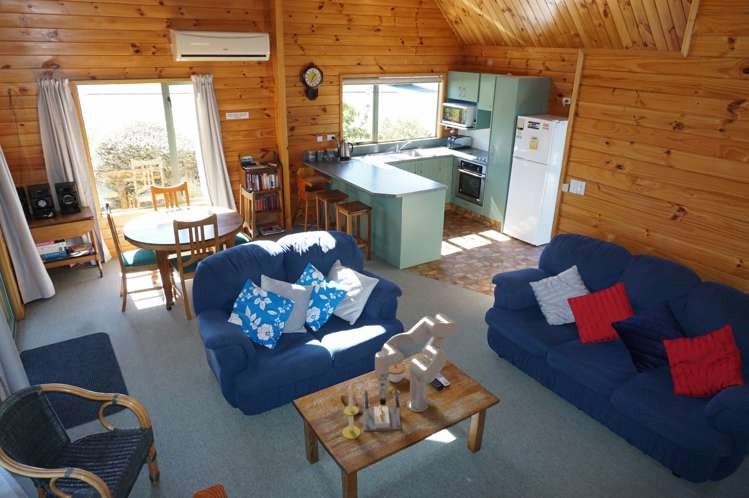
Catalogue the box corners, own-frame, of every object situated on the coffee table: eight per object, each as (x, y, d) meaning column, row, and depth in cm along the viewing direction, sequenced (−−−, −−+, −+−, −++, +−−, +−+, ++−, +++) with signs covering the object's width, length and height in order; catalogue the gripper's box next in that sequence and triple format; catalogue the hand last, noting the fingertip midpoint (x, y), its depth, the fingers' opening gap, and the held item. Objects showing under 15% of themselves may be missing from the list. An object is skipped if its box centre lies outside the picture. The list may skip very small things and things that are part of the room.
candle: (346, 441, 274) (344, 391, 262) (339, 429, 282) (338, 380, 270) (363, 435, 278) (362, 386, 266) (356, 424, 286) (355, 375, 274)
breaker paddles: (382, 409, 291) (380, 404, 290) (383, 419, 283) (381, 414, 282) (380, 409, 291) (378, 405, 290) (380, 419, 283) (379, 415, 282)
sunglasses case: (365, 413, 294) (360, 407, 291) (356, 421, 293) (350, 415, 290) (353, 395, 309) (348, 389, 306) (344, 403, 308) (338, 397, 305)
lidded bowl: (384, 373, 330) (384, 359, 326) (403, 372, 331) (403, 358, 327) (386, 385, 318) (386, 371, 314) (406, 384, 320) (406, 369, 315)
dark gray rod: (397, 391, 291) (397, 389, 290) (399, 408, 277) (399, 405, 277) (394, 391, 291) (394, 389, 290) (396, 408, 277) (396, 406, 277)
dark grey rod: (367, 392, 290) (367, 390, 290) (368, 409, 277) (368, 407, 276) (364, 392, 290) (364, 390, 290) (365, 409, 277) (365, 407, 276)
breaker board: (398, 410, 297) (398, 388, 291) (401, 429, 282) (401, 407, 276) (363, 411, 296) (362, 389, 290) (363, 431, 281) (363, 408, 275)
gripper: (390, 382, 269) (390, 408, 276) (387, 363, 285) (387, 388, 292) (375, 383, 269) (376, 409, 276) (374, 364, 285) (374, 389, 292)
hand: (382, 398), depth 284 cm, fingers open, 9 cm apart
